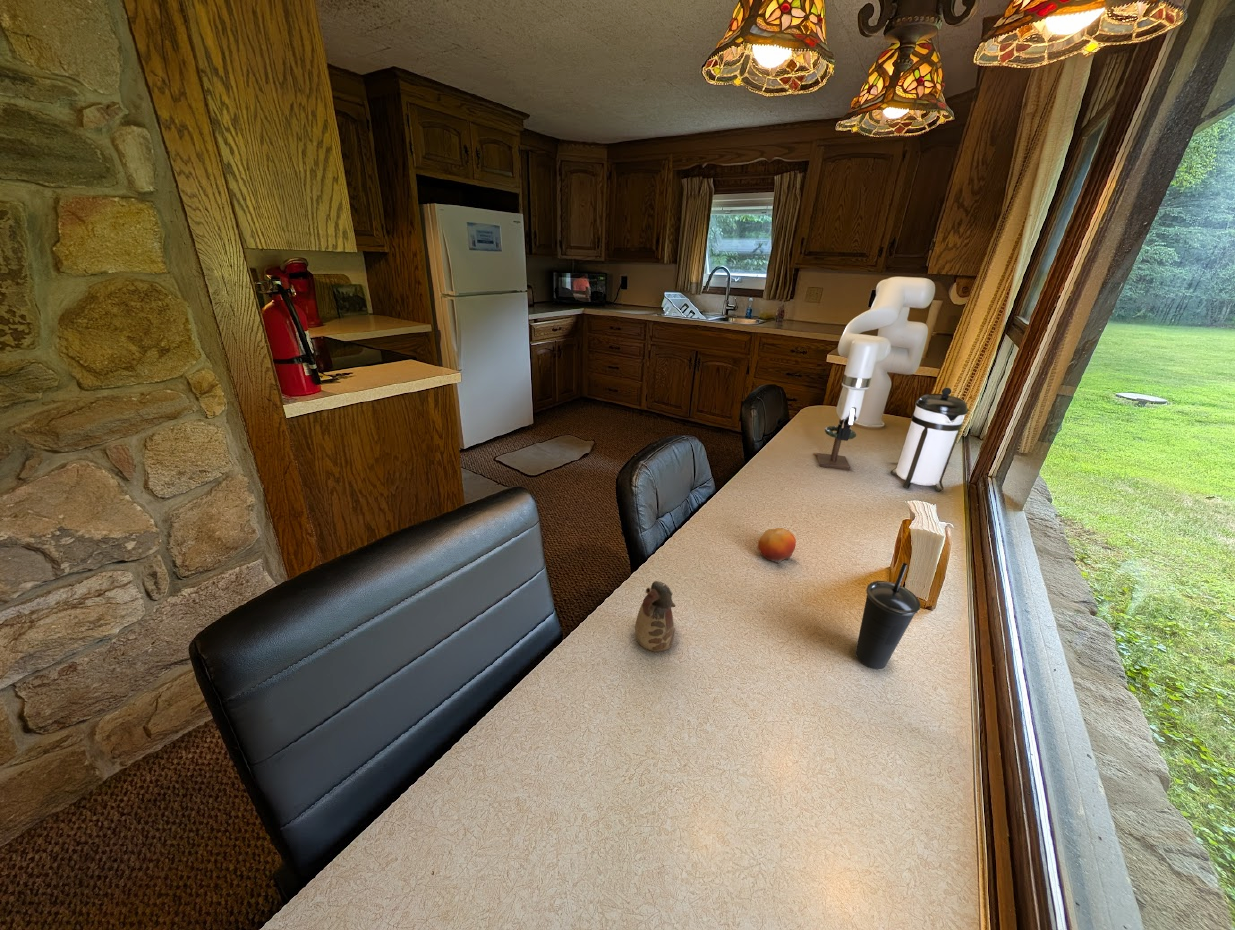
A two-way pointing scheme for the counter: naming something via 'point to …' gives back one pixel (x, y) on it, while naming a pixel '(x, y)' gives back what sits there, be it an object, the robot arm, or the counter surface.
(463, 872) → the counter surface
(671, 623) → the figurine
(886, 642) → the drinking cup
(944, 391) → the coffee press
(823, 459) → the brown peg stand
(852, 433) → the ring
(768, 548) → the fruit
